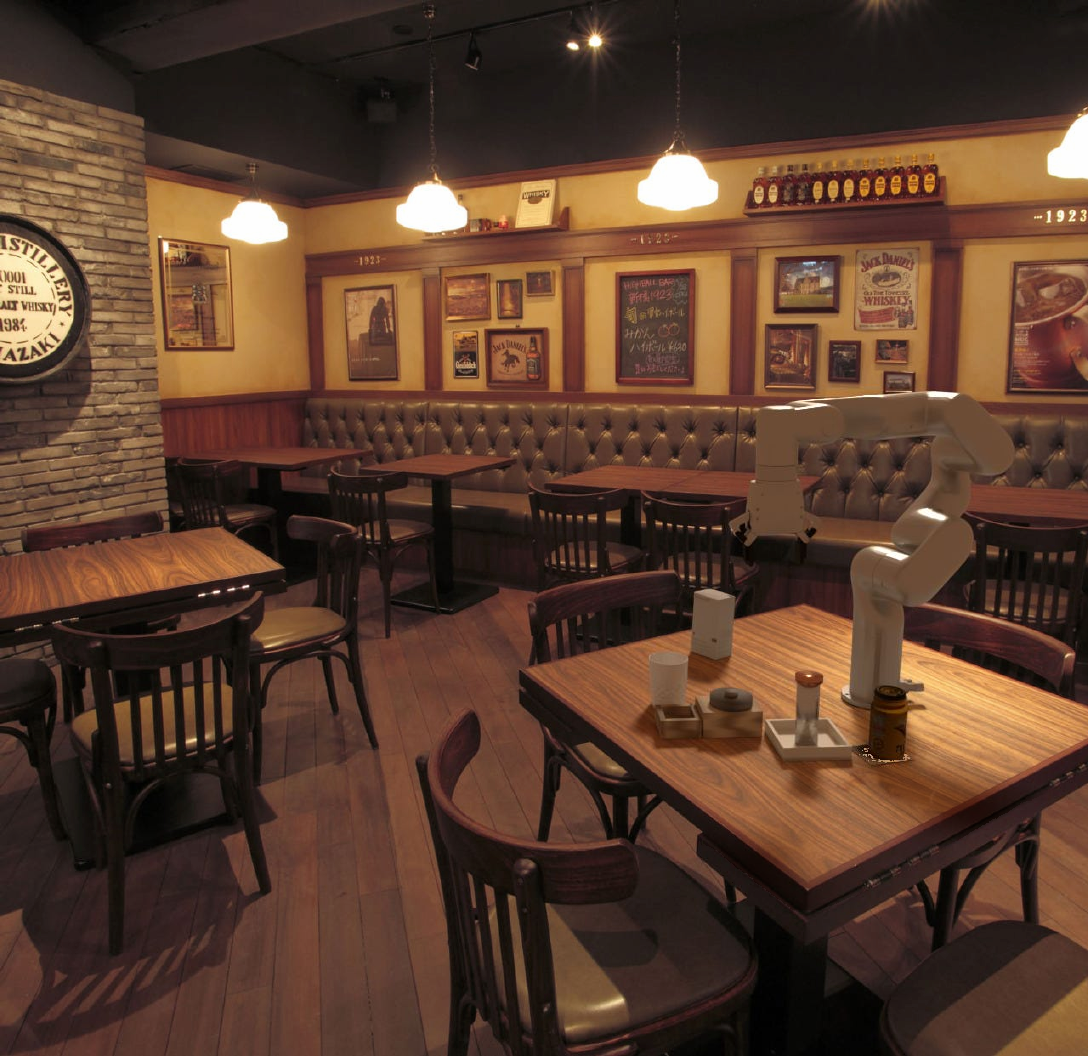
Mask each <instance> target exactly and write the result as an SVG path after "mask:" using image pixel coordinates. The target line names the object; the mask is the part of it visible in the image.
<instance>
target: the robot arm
mask: <svg viewBox="0 0 1088 1056" xmlns="http://www.w3.org/2000/svg"><path fill="white" fill-rule="evenodd" d="M755 418H756V421H755V426H756V427H755V431H756V432H755V474H754V475H755V479H753V480H750V483H749V487H748V492H747V493H748V494H747V498H746V499H747V500H746V508H745V509H746V510H745V512H744V513H742V514H741V515H739V516H737V517H735V518H734V519H731V520H730V521H728V526H729V528H730V530H731V532H732V533H733V535H734V536H735V538H736V539H738V540H739V541H740V542H741V543H742V561H743V562H744V563H745V565H747V566H748V567H753V566H755V565H754V563H755V561H754V560H755V559H754V557H755V546H754V545H753V542H754V541H755V540H756V539H757V538H758V536H780V535H781V536H782V535H783V536H784V535H794V536H796V537H797V539H795V542H794V561H795V562H796V563H798V564H800V565H804V564H805V559H807V551H808V550H807V547H808V543H810V540H811V539H812V537H814V536H815V534H817V530H818V528H819V527H820V525H821V523H822V521H823V520H822V518H820V517H819V516H816V515H815V514H812V513H811V512H808V511H806V510H805V500H804V493H803V487H802V482H801V480H800V479H799V478H800V477H799V475H801V474H805V473H806V468H805V466H803V465H800V464H799V445H815V446H824V445H829V444H830V445H831V444H833V443H834V442H836V441H837V440H839V439H840V438H846V439H855V440H856V439H857V440H862V441H863V440H865V441H884V440H891V439H899V438H900V439H903V438H915V437H916V438H917V437H926V436H929V437H931V436H934V439H933V440H932V443H931V446H930V459H931V476H930V480H929V483H928V484H927V486H926V487H925V489H924V490H923V491H922V492H921V494H920V495H919V496H918V497H917V498H916V499H915V500H914V501H913V502H912V503H911V505H910V506H909V507H908V508H907V509H906V510H905V511H904V512H903V513H902V515H900V517H899V518H898V519H897V520H896V521H895V522H894V524H893V526H892V528H891V531H890V539H891V542H892V544H893V545H894V546H895V547H896V548H897V549H899V550H900V551H899V550H896V549H894V548H890V547H886V546H881V545H871V546H867V547H864V548H862V549H861V550H859V551H858V552H856V554H855V556H854V557H853V560H852V562H851V565H850V582H851V583H850V584H851V589H852V596H853V599H852V600H853V611H852V613H853V618H852V632H851V633H852V634H851V635H852V636H851V647H850V648H851V651H850V652H851V653H850V667H849V669H850V670H849V671H850V672H849V683H848V684H846V685H843V687H842V688H841V689H840V697H841V698H842V699H843V701H845V702H846V703H848V704H849V705H853V706H854V707H858V708H861V709H866V710H870V709H871V703H872V701H873V700H874V699H873V697H874V690H875V688H876V687H877V686H882V685H889V686H896V687H899V688H901V689H903V690H904V691H905V692H906V704H907V703H908V695H907V694H909V692H910V693H911V692H914V693H918V692H919V693H922V692H923V693H924V691H925V684H924V683H923V682H922V681H915V682H913V680H912V679H911V678H909V679H907V678H905V679H902V678H901V672H902V657H903V656H902V654H903V639H904V628H905V612H904V608H903V606H904V607H907V608H908V607H909V608H915V607H920V606H922V605H924V604H926V603H927V602H929V601H930V600H931V599H932V598H934V596H935V595H936V594H937V593H938V592H939V591H940V590H941V588H943V587H944V586H945V584H947V582H948V581H950V579H951V578H952V576H953V575H954V574H955V573H956V572H957V571H958V570H959V569H960V568H961V566H963V564H964V563H965V562H966V560H967V559H968V558H969V556H970V554H971V552H972V548H973V545H974V540H975V536H974V530H973V529H972V526H971V525H970V524H969V522H968V521H966V519H963V518H961V517H962V516H963V514H964V513H965V511H966V510H967V508H968V506H970V502H971V499H972V498H971V495H972V492H971V481H970V474H974V475H975V474H976V475H980V476H988V477H990V476H997V475H1000V474H1002V473H1005V472H1006V471H1007V470H1008V469H1009V468H1010V467H1012V464H1013V462H1014V459H1015V455H1016V451H1015V450H1016V449H1015V445H1014V442H1013V440H1012V438H1011V436H1010V434H1008V433H1007V431H1006V430H1005V429H1004V428H1003V426H1001V425H1000V424H999V422H998V421H997V420H996V419H995V417H993V416H992V415H991V413H989V411H987V410H986V408H985V407H983V405H982V404H981V403H980V402H978V400H976V399H975V398H973V397H972V396H970V395H968V394H966V393H963V392H949V391H935V390H933V391H931V390H930V391H928V390H927V391H916V392H904V393H887V394H877V395H862V396H861V395H859V396H849V397H838V398H836V397H835V398H819V399H806V400H796V401H790V402H788V403H786V404H785V405H767V406H763V407H760V408H759V409H758V410H757V413H756V417H755ZM805 520H808V521H810V524H809V526H808V527H807V528H806V529H805ZM743 524H745V529H746V531H745V532H744V533H743V532H742V531H741V529H740V526H741V525H743ZM804 529H805V530H804Z"/></svg>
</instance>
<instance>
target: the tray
mask: <svg viewBox="0 0 1088 1056" xmlns="http://www.w3.org/2000/svg"><path fill="white" fill-rule="evenodd" d="M764 733H765V735H766V736H767V738H768V739H769V741H770V743H771V745H772V747H774V749H775V751H776V752H777V755H779V758H780V759H781V761H782V762H818V761H819V762H821V761H850V760H851V761H852V757H853V750H852V746H853V745H852V744H851V743H850V742H849V741H848V739H847V738H846V737H845V735H843V733H842V732H841V731H840V730H839V728H838V727H837V726H836V725H835V724H834V722H833V721H832V720H831V719H830V717H819V726H818V745H817V746H797V745H796V744H795V718H776V719H775V718H770V719H769V718H768V719H767V718H765V719H764Z"/></svg>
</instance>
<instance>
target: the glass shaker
mask: <svg viewBox="0 0 1088 1056" xmlns="http://www.w3.org/2000/svg"><path fill="white" fill-rule="evenodd" d="M794 681H795V682H796V698H795V718H794V719H795V744H796V745H797V746H817V745H818V726H819V718H820V703H821V702H820V701H821V700H820V699H821V685H822V684H823V683H824V675H823V674H822V673H821V672H819V671H816V670H815V671H814V670H809V669H806V670H805V669H804V670H798V671H795V673H794Z"/></svg>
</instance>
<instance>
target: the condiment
mask: <svg viewBox="0 0 1088 1056" xmlns="http://www.w3.org/2000/svg"><path fill="white" fill-rule="evenodd" d="M906 696H907V694H906V692H905V691H904V690H903V689H901V688H899V687H896V686H889V685H882V686H877V687H876V688H875V690H874V697H873V699H874V700H873V701H872V703H871V709H869V710H870V711H869V731H868V743H864V744H859V745H851V746H852V752H854V753H855V754H856V755H857V754H860V755H858V756H859V757H860V758H861V759H862V760H864V761H865V762H866V763H868V764H869V765H871V766H876V765H880V766H881V765H885V764H886V765H887V764H892V763H891V762H887V763H885V762H883V761H881V762H878V761H877V760H878V759H880V760H890V761H892V760H893V761H894V760H905V758H904V759H903V757H905V756H904V754H907V752H905V751H906V740H907V736H906V735H907V723H908V722H907V721H908V712H909V711H908V710H909V707H908V706H907V703H906ZM864 748H869V749H867V750H868V752H865V751H867V750H864ZM862 750H863V751H862ZM863 754H867V757H866V756H865V755H864V756H863ZM868 754H871V755H872V756H873V758H875V759H872V758H871V756H870V755H869V756H868ZM908 755H909V756H907V757H910V759H908V758H907V760H912V761H915V760H916V758H914V757H913V756H911V755H910V754H908ZM868 760H869V761H868ZM872 760H876V761H872Z"/></svg>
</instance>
